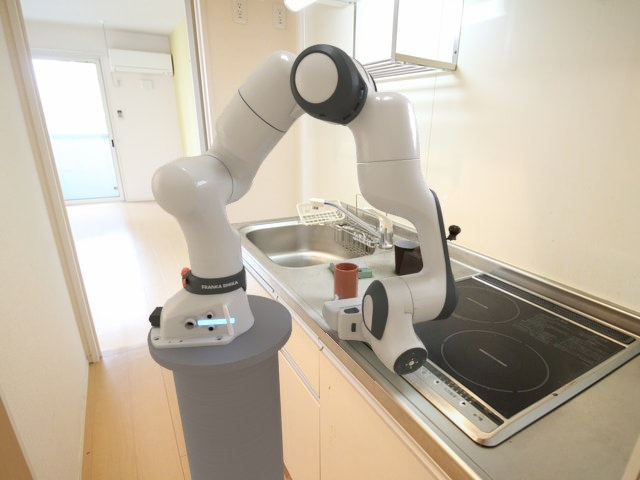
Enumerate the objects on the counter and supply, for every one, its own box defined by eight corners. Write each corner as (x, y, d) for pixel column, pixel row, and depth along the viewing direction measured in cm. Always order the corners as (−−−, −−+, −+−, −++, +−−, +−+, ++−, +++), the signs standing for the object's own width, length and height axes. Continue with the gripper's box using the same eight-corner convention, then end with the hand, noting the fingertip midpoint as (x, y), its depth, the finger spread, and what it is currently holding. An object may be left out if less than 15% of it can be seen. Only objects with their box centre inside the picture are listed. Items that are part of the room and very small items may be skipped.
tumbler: (338, 310, 96) (338, 272, 92) (330, 300, 102) (331, 263, 98) (360, 307, 98) (362, 269, 94) (352, 297, 104) (353, 261, 100)
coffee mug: (404, 279, 117) (407, 249, 113) (386, 270, 123) (388, 242, 120) (429, 271, 123) (432, 243, 120) (411, 264, 130) (413, 237, 126)
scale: (339, 280, 115) (340, 273, 114) (329, 268, 124) (329, 261, 123) (371, 276, 118) (372, 269, 117) (359, 265, 128) (359, 258, 127)
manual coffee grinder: (420, 288, 111) (426, 231, 105) (398, 275, 120) (402, 222, 114) (456, 279, 118) (464, 226, 112) (433, 268, 127) (439, 218, 121)
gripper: (419, 302, 82) (392, 278, 94) (333, 314, 75) (316, 287, 87) (416, 326, 84) (390, 300, 96) (332, 340, 78) (316, 311, 90)
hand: (354, 294), depth 92 cm, fingers open, 8 cm apart
